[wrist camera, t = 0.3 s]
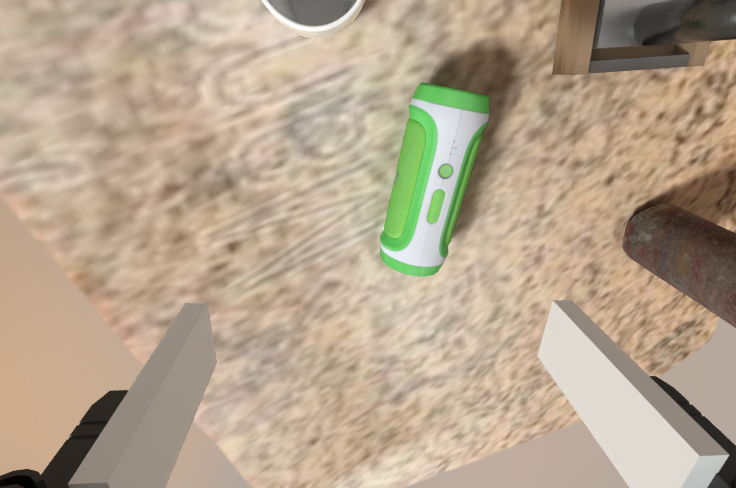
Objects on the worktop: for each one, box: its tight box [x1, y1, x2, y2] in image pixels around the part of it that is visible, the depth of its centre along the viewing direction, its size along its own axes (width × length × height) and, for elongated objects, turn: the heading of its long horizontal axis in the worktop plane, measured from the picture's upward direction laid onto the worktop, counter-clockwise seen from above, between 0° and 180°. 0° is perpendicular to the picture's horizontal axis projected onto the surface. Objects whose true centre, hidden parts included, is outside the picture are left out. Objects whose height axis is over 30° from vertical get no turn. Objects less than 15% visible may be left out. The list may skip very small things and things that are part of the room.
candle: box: [623, 204, 736, 328], centre depth 37 cm, size 8×7×20 cm
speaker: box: [380, 83, 489, 276], centre depth 38 cm, size 18×7×8 cm, turn 169°
